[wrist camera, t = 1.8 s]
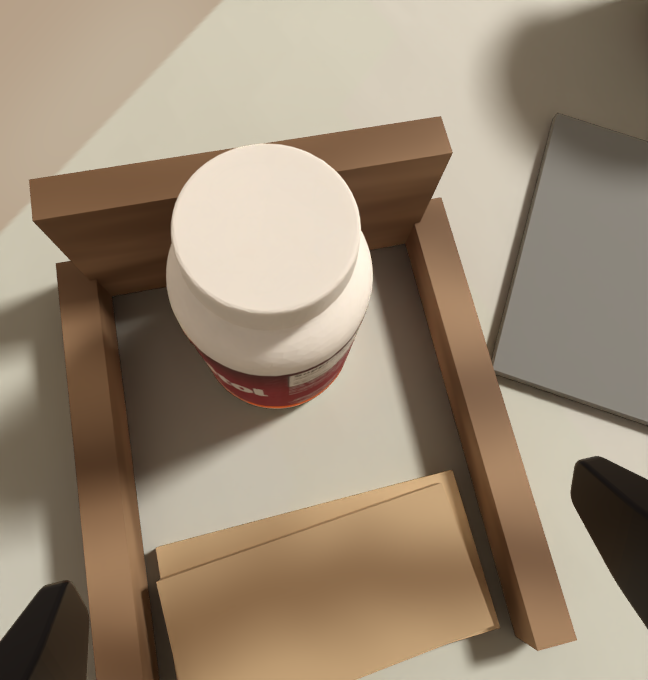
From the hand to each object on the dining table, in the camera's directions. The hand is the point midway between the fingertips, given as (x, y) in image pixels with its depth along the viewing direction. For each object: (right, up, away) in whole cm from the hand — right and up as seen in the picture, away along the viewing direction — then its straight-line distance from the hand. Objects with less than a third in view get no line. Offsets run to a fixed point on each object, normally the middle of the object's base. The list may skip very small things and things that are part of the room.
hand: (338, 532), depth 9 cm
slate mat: (+16, +6, +16) cm, 23 cm away
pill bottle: (-2, +3, +14) cm, 15 cm away
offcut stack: (0, -6, +12) cm, 14 cm away
